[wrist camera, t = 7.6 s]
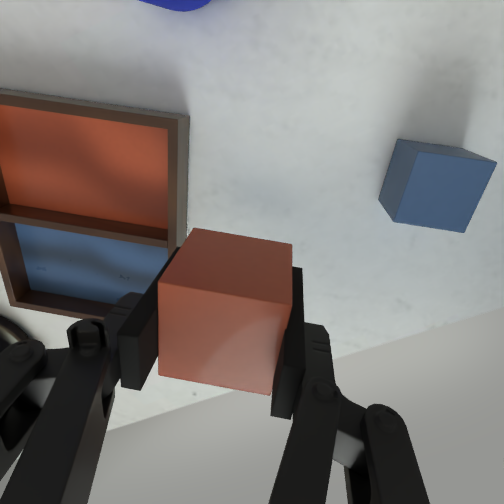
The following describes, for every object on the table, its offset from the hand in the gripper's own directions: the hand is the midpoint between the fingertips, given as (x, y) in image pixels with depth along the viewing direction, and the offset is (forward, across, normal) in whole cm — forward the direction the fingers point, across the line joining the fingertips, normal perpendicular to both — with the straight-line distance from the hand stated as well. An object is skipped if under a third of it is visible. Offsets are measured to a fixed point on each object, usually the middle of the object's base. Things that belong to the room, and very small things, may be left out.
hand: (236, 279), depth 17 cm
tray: (+13, -16, -5) cm, 21 cm away
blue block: (+13, +12, +4) cm, 19 cm away
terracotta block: (0, 0, 0) cm, 0 cm away
